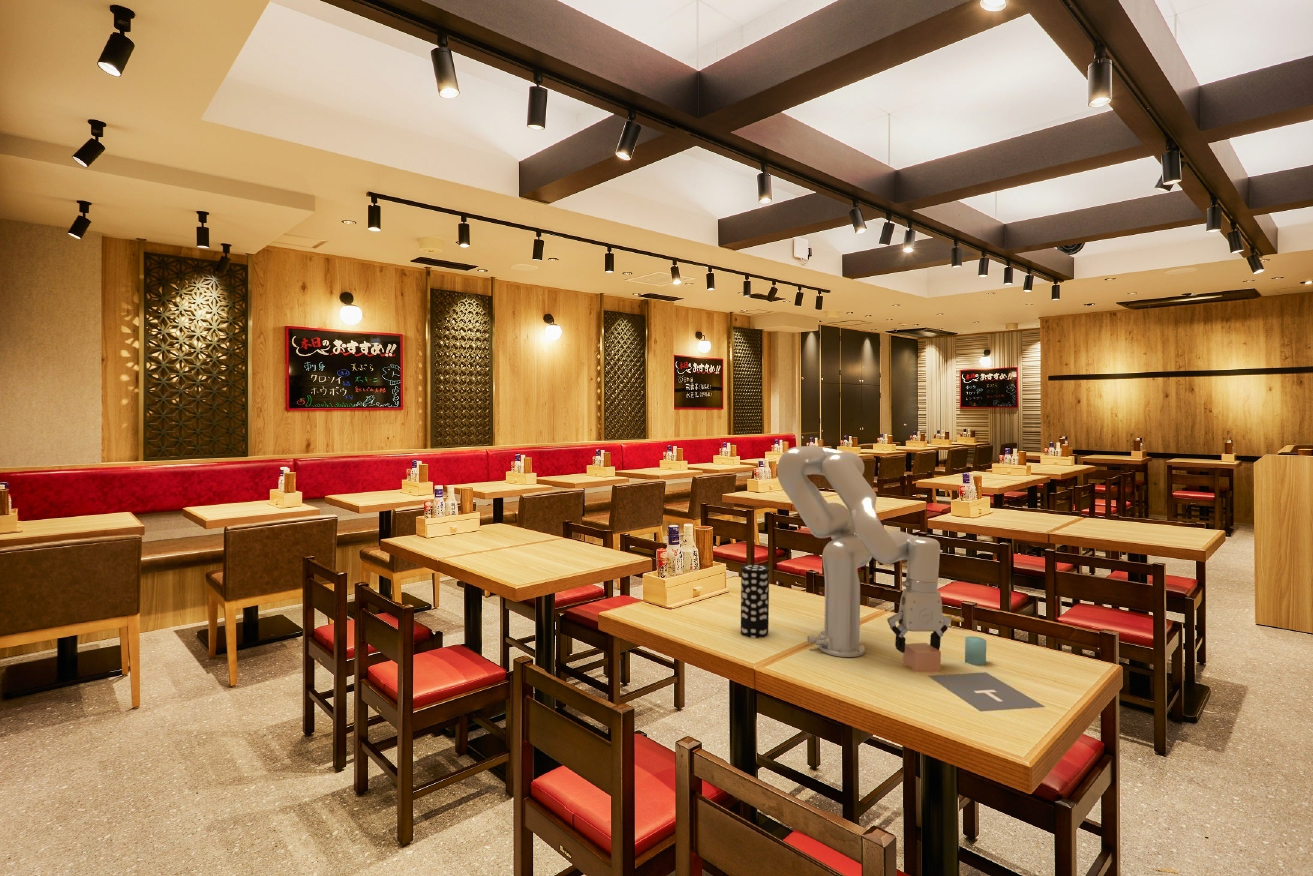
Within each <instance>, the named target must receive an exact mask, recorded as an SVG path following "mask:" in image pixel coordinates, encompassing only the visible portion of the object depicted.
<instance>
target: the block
mask: <svg viewBox="0 0 1313 876" xmlns="http://www.w3.org/2000/svg"><path fill="white" fill-rule="evenodd" d="M902 657H903V659H902V662H903V663H902V667H909V668H911V669H912V670H914V672H917V673H920V672H936V671H938V672H939V671H941V670H942V669H941V667H942V666H941V663H942V661H941V658H942V651H941V650H940V649H939V650H938V649H936V648H934V647H932V646H931V645H930V643H927V642H918V643H914V642H913V643H905V652H904V653H903V654H902Z"/></svg>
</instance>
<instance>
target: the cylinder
mask: <svg viewBox="0 0 1313 876" xmlns="http://www.w3.org/2000/svg"><path fill="white" fill-rule="evenodd" d="M964 641H965V642H964V664H965V663H966V664H970V665H973V666H978V667H979V666H980V667H981V666H982V667H983V666H985V665H986V664H987V640H986V639H985V638H983V637H980V636H965V638H964Z"/></svg>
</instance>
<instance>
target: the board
mask: <svg viewBox="0 0 1313 876" xmlns="http://www.w3.org/2000/svg"><path fill="white" fill-rule="evenodd" d="M928 677H929V678H930V679H931V680H933V681H935V682H936V683H937V684H939V685H941V686H942V687H944V688H945V689H946V690H948V691H949V692H951V693H952V694H954V695H956V696H957V697H958V698H959V699H961V700H963V701H964V702H965V703H967V704H969V705H971V706H972V707H973V708H975V709H976V710H977V711H979V712H991V711H992V712H993V711H1006V710H1022V709H1023V710H1024V709H1035V708H1037V709H1038V708H1046V705H1043V704H1042V703H1040V702H1038V701H1037V700H1035V699H1033V698H1031V697H1030V696H1027V695H1026V694H1025V693H1023V692H1020V690H1017V689H1016V688H1014V687H1012V686H1011V685H1009V684H1007V683H1005V682H1004V681H1002V680H1000V679H998V678H996V677H995V676H993V675H991V674H990V673H988V672H985V671H984V672H971V673H969V672H968V673H955V674H953V673H952V674H937V675H935V674H934V675H928Z"/></svg>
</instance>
